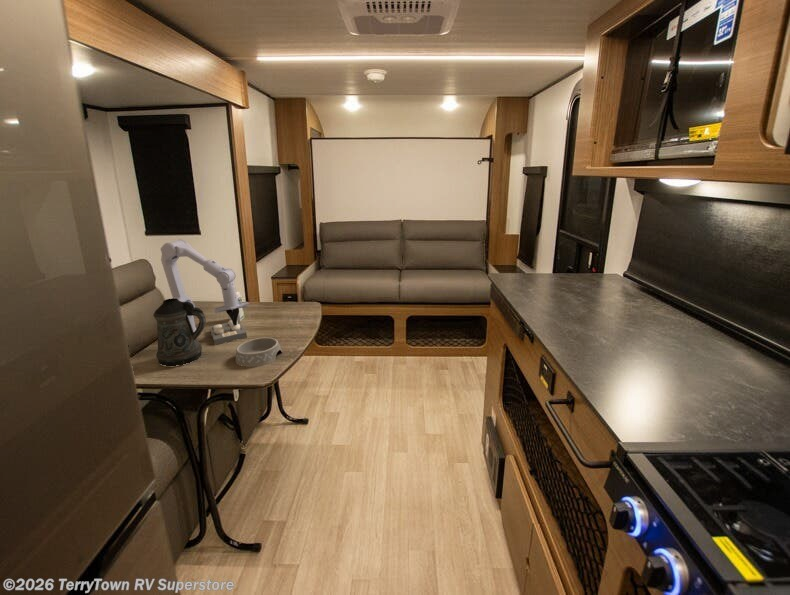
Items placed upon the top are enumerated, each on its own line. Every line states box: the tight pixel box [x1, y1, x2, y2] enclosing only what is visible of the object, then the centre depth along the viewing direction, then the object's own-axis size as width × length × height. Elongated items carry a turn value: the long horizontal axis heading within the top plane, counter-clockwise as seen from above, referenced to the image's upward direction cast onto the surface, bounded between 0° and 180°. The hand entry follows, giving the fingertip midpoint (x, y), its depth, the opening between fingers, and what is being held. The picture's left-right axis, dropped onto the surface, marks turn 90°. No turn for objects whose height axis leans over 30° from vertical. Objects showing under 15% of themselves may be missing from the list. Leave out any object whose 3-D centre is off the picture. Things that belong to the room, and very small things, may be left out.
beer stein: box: [153, 297, 207, 366], centre depth 163 cm, size 16×19×25 cm
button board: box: [209, 320, 248, 345], centre depth 188 cm, size 14×19×3 cm
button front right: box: [231, 324, 241, 331], centre depth 187 cm, size 4×4×3 cm
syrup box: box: [228, 290, 246, 322], centre depth 205 cm, size 6×6×14 cm
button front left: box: [214, 327, 225, 335], centre depth 184 cm, size 4×4×3 cm
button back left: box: [212, 323, 222, 330], centre depth 190 cm, size 4×4×3 cm
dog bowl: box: [235, 336, 283, 368], centre depth 163 cm, size 17×18×5 cm
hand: (235, 324), depth 187 cm, fingers closed
